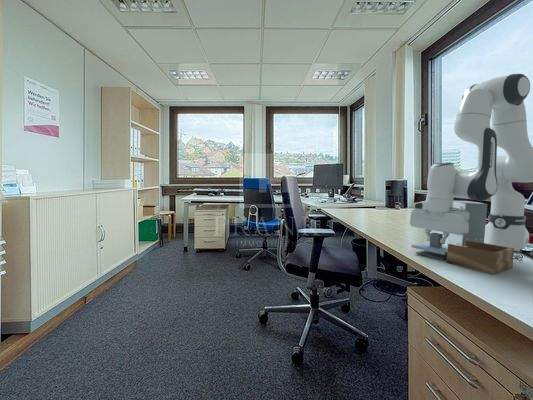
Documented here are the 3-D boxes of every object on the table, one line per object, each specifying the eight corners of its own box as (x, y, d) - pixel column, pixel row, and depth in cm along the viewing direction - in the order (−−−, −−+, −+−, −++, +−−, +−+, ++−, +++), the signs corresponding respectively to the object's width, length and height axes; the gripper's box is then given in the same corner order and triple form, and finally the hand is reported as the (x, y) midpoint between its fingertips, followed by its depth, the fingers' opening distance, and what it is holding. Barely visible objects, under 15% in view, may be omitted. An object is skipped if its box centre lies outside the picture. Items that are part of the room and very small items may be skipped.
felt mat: (430, 250, 121) (430, 249, 121) (456, 256, 112) (456, 255, 112) (416, 253, 115) (416, 252, 115) (442, 259, 107) (442, 258, 107)
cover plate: (427, 244, 121) (428, 229, 121) (460, 251, 111) (461, 235, 111) (411, 247, 115) (412, 231, 115) (444, 254, 105) (445, 238, 105)
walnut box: (465, 257, 111) (467, 240, 111) (512, 267, 99) (514, 248, 99) (446, 262, 104) (448, 244, 103) (494, 274, 92) (496, 253, 91)
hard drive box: (483, 256, 113) (488, 203, 111) (461, 254, 115) (465, 203, 113) (465, 246, 128) (469, 200, 127) (445, 245, 130) (449, 199, 128)
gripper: (474, 208, 105) (470, 247, 106) (417, 203, 122) (415, 236, 123) (465, 209, 102) (461, 249, 103) (408, 203, 119) (406, 238, 120)
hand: (436, 242), depth 113 cm, fingers closed on cover plate, 3 cm apart
